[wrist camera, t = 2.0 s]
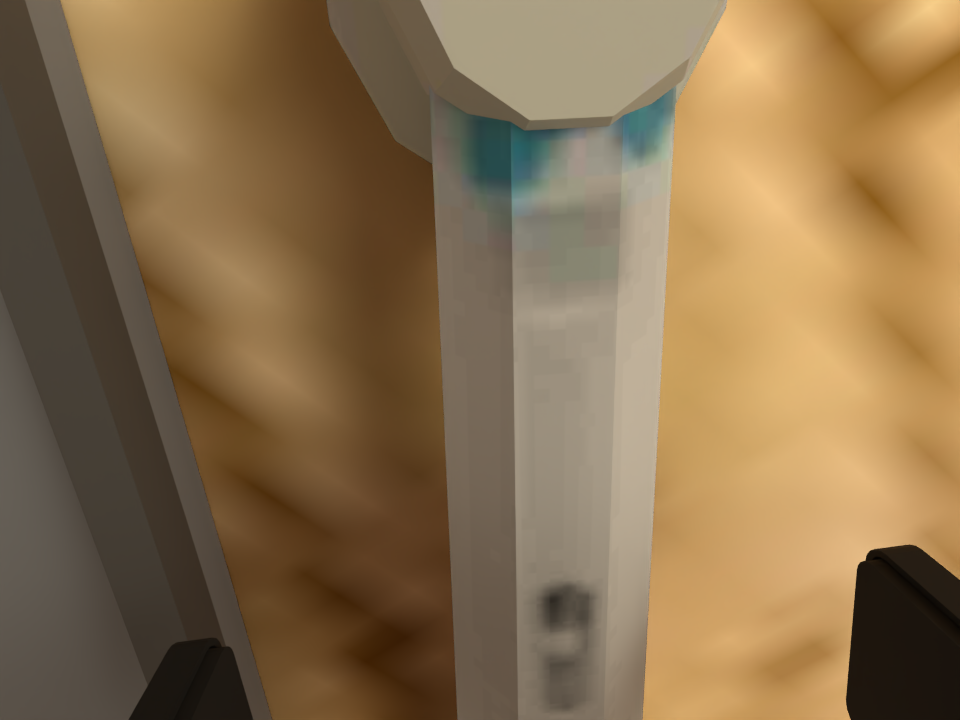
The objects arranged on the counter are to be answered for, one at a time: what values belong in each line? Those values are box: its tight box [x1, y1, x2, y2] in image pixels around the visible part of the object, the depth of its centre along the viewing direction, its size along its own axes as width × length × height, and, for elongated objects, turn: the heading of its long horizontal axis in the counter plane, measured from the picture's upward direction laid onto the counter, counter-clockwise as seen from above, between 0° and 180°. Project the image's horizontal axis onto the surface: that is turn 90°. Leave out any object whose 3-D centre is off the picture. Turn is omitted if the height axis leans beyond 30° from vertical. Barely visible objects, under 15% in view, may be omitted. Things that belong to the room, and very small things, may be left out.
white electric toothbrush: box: [326, 0, 727, 720], centre depth 11 cm, size 5×7×25 cm
